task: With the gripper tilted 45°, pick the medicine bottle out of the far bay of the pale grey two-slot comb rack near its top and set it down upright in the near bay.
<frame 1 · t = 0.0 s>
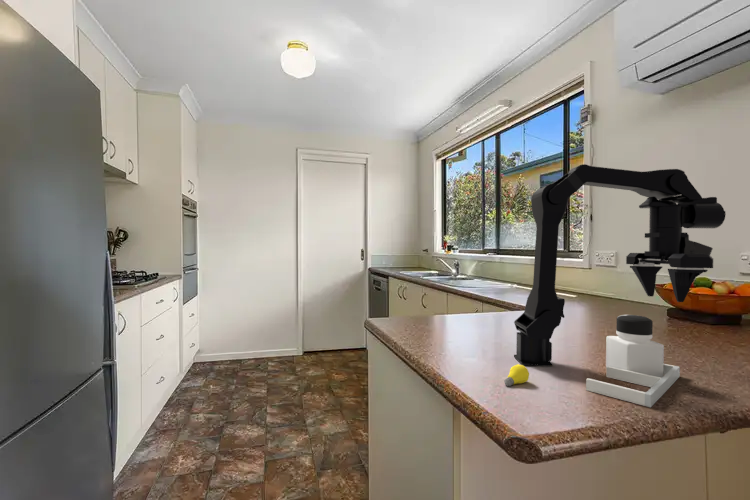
hand: (664, 299, 82), 15 cm above the countertop, tool pointing down, fingers open, 9 cm apart
comb rack: (635, 383, 71), on the countertop
light bulb: (515, 384, 71), on the countertop
medicine bottle: (633, 375, 76), on the countertop
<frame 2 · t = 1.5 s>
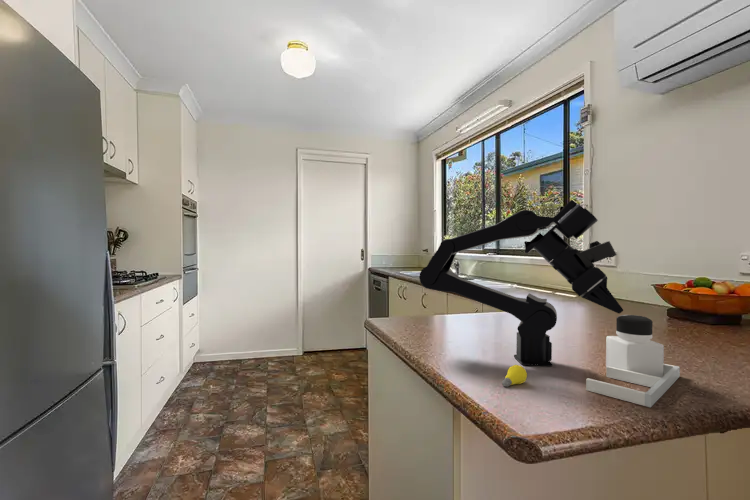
hand: (618, 308, 77), 13 cm above the countertop, tool tilted 45°, fingers open, 9 cm apart
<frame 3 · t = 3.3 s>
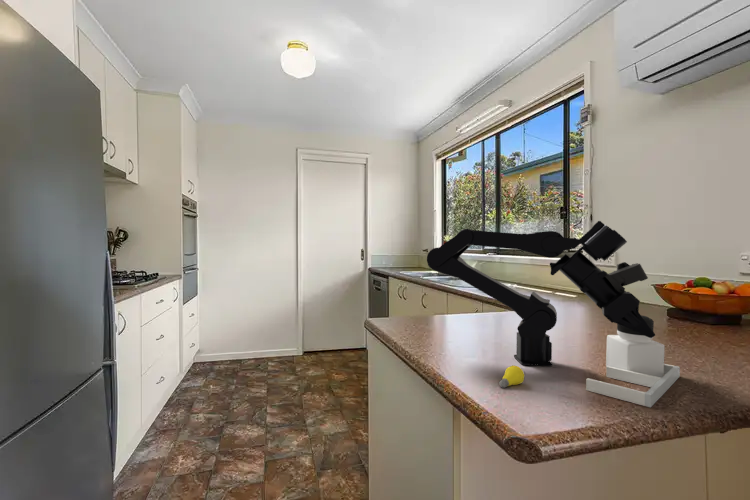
hand: (649, 333, 74), 9 cm above the countertop, tool tilted 45°, fingers closed on medicine bottle, 6 cm apart
medicine bottle: (633, 374, 76), on the countertop, touching gripper
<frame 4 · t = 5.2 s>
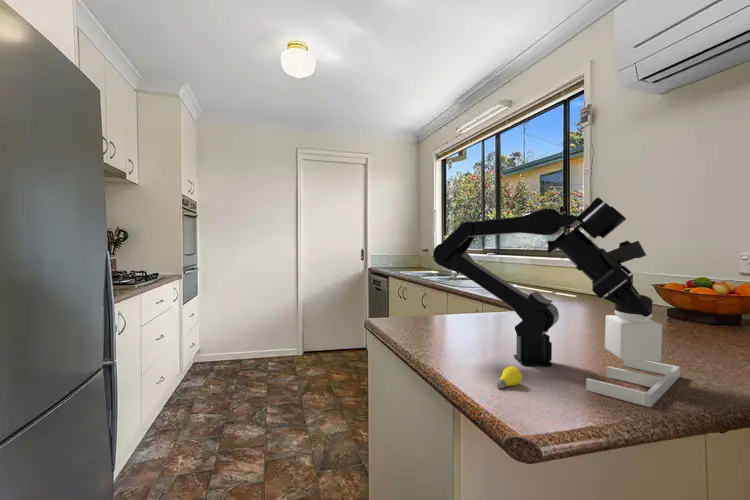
hand: (648, 313, 72), 13 cm above the countertop, tool tilted 45°, fingers closed on medicine bottle, 6 cm apart
medicine bottle: (631, 356, 74), point 4 cm above the countertop, touching gripper
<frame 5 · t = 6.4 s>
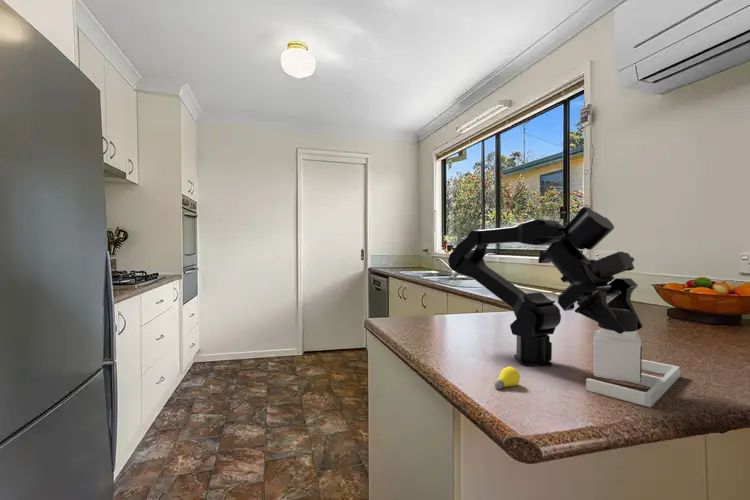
hand: (631, 330, 67), 11 cm above the countertop, tool tilted 45°, fingers closed on medicine bottle, 6 cm apart
medicine bottle: (616, 375, 69), point 2 cm above the countertop, touching gripper
when the fingers open (10 cm above the countertop, at t = 7.1 s): medicine bottle drops 1 cm, on the countertop.
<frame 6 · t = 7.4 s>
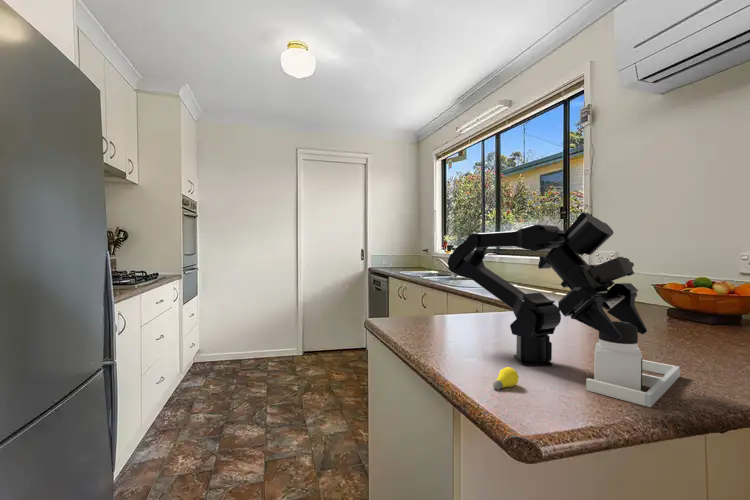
hand: (632, 335, 67), 10 cm above the countertop, tool tilted 45°, fingers open, 9 cm apart
medicine bottle: (617, 388, 69), on the countertop
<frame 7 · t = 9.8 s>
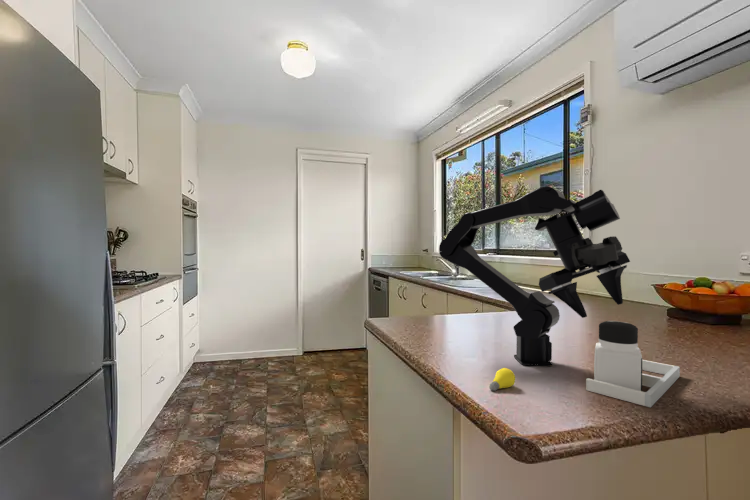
hand: (602, 310, 75), 13 cm above the countertop, tool tilted 25°, fingers open, 9 cm apart
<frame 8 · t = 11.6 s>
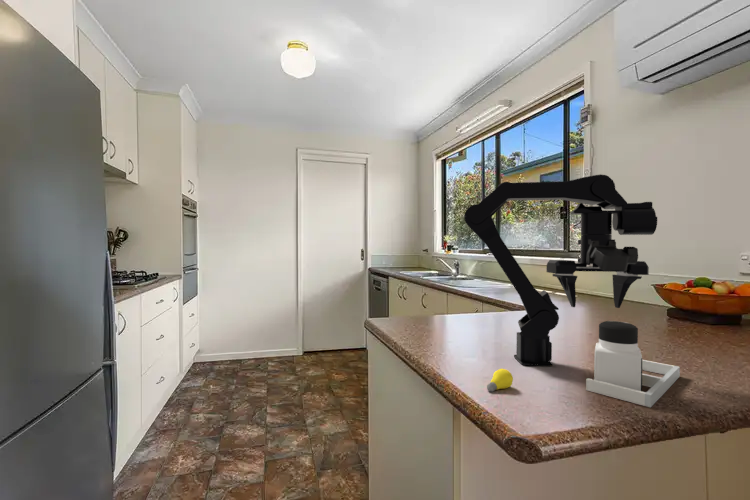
hand: (595, 307, 80), 13 cm above the countertop, tool pointing down, fingers open, 9 cm apart
at the end: medicine bottle 1.2 cm from the target spot on the comb rack, point 0.0 cm above the comb rack's base; medicine bottle tilted 0°; the gripper is holding nothing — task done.
